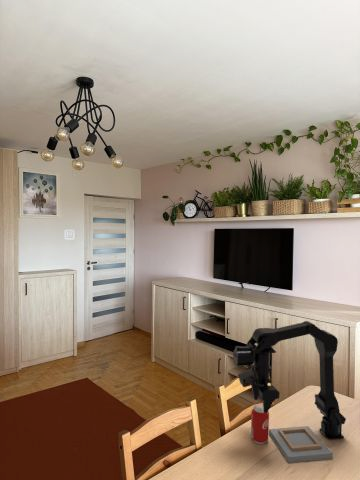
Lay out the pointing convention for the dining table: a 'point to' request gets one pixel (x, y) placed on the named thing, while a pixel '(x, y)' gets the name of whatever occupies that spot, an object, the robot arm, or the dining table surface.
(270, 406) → the robot arm
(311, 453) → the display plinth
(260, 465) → the dining table surface
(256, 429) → the beverage can
